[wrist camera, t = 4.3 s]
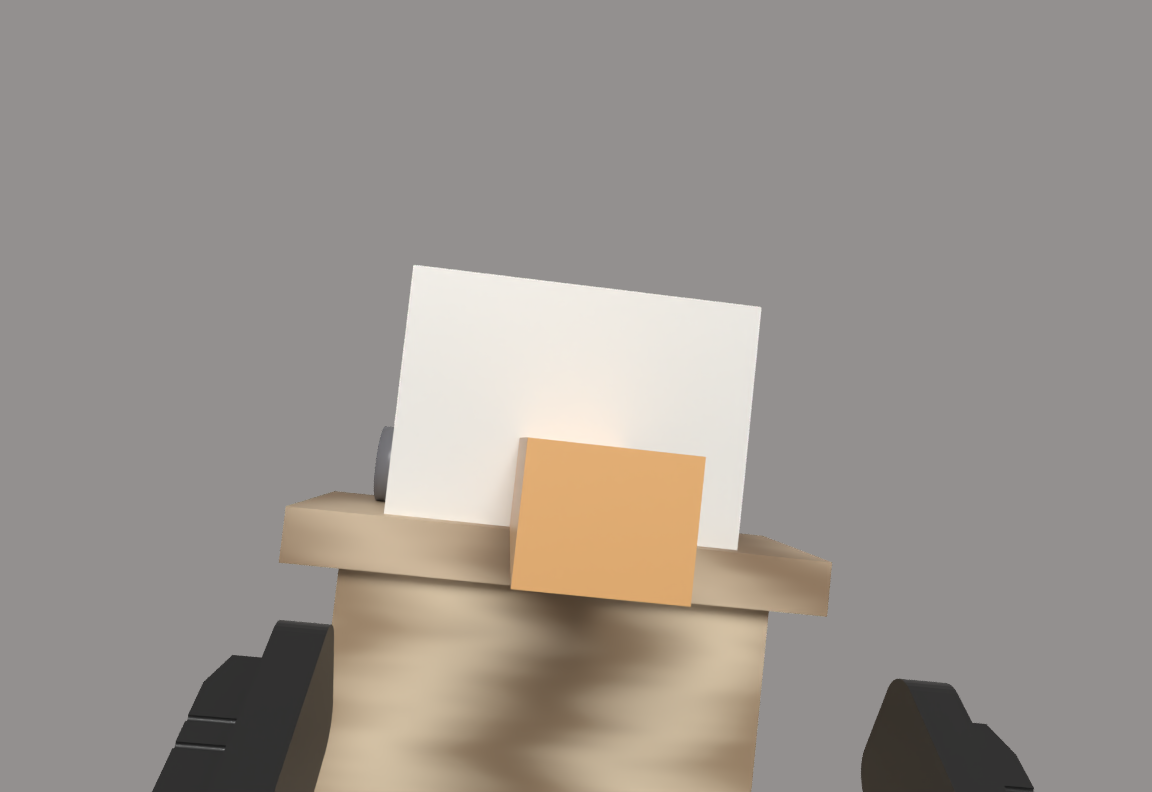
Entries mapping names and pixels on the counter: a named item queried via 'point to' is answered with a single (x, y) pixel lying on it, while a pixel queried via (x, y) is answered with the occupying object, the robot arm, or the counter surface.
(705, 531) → the white box with knobs
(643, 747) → the dock pedestal
